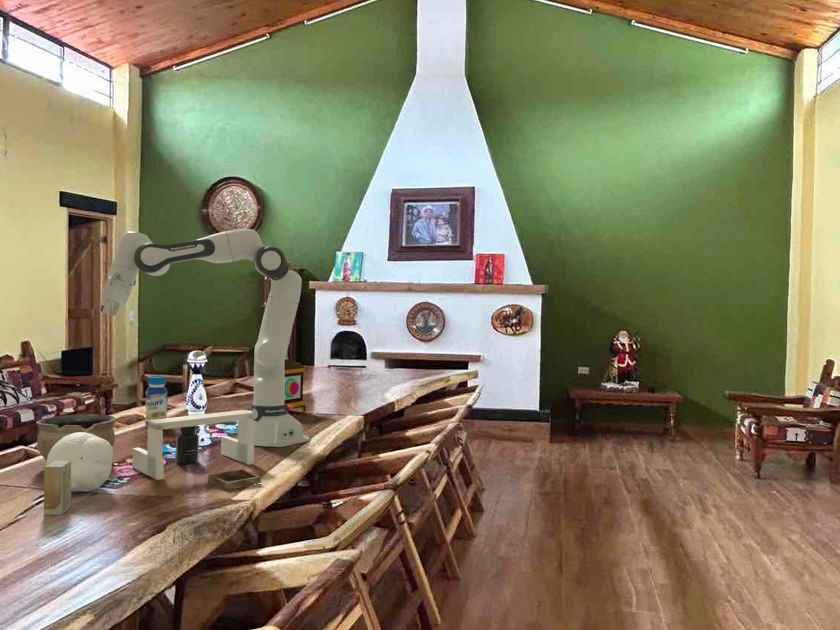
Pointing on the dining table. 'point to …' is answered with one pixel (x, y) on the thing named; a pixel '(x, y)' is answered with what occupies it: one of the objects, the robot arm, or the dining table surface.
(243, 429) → the arch lane
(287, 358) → the decorative lantern
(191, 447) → the supplement bottle
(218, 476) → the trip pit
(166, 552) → the dining table surface
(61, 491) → the skincare box
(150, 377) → the beverage bottle
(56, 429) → the ceramic bowl
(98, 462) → the decorative orb
